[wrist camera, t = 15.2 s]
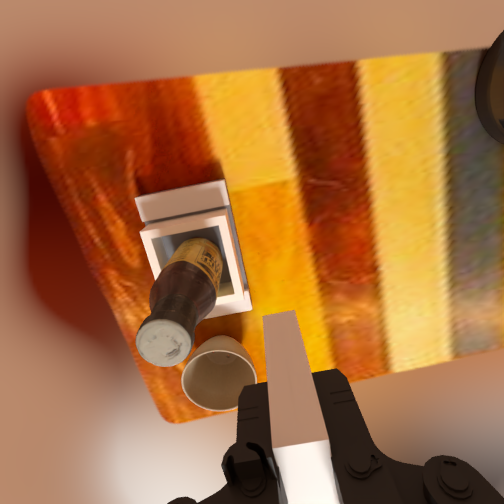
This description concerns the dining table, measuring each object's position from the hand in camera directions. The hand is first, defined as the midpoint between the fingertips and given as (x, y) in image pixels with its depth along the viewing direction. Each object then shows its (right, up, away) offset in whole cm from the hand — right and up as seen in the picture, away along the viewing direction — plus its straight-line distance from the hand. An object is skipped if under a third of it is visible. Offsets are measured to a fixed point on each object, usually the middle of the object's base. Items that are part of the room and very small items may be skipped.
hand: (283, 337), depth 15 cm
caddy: (-9, +4, +28) cm, 29 cm away
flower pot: (-6, -11, +33) cm, 35 cm away
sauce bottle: (-8, +4, +27) cm, 28 cm away
